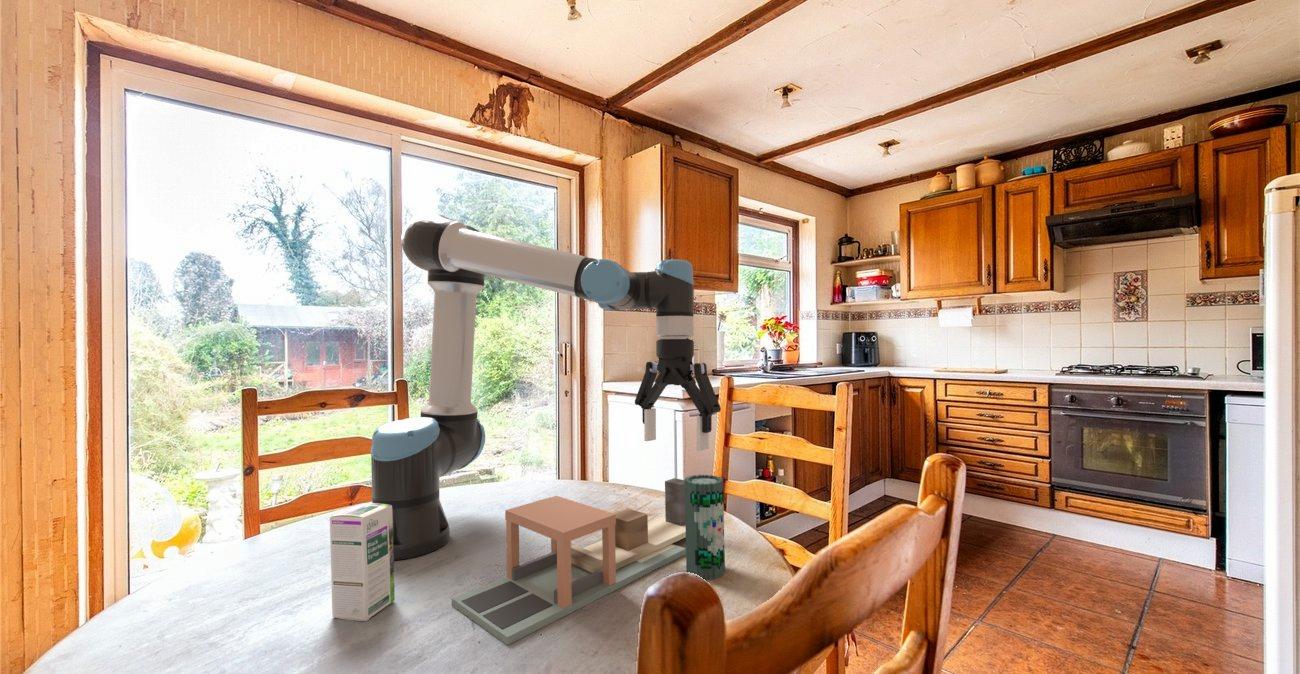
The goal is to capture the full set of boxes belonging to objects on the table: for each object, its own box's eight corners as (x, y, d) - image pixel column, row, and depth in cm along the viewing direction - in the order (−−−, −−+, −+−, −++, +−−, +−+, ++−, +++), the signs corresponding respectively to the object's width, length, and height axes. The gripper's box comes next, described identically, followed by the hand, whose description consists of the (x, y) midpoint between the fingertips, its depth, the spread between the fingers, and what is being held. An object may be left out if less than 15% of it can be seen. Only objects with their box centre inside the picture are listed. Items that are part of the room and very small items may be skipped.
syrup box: (366, 622, 69) (365, 516, 69) (329, 618, 70) (329, 514, 71) (395, 601, 75) (394, 503, 75) (361, 598, 76) (360, 501, 76)
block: (608, 543, 90) (607, 515, 90) (628, 535, 93) (627, 508, 93) (628, 551, 86) (627, 521, 86) (648, 542, 90) (647, 514, 90)
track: (451, 605, 73) (450, 525, 74) (626, 533, 100) (625, 475, 100) (507, 645, 63) (506, 553, 63) (686, 554, 90) (684, 489, 90)
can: (706, 582, 79) (704, 486, 79) (679, 570, 83) (677, 479, 84) (731, 570, 83) (729, 479, 83) (704, 559, 87) (702, 472, 88)
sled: (565, 560, 85) (564, 507, 85) (666, 519, 104) (665, 476, 104) (601, 576, 79) (600, 519, 79) (700, 529, 98) (700, 483, 98)
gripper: (738, 337, 95) (739, 450, 95) (642, 338, 112) (642, 434, 112) (715, 337, 89) (715, 457, 89) (618, 338, 106) (618, 439, 106)
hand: (675, 444), depth 100 cm, fingers open, 13 cm apart
